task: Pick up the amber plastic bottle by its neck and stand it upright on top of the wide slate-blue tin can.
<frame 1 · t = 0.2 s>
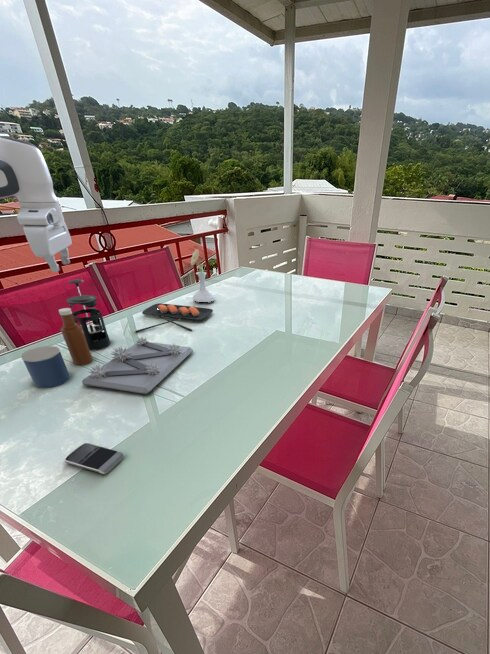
hand: (61, 267, 97), 29 cm above the table, tool pointing down, fingers open, 8 cm apart
bottle: (83, 361, 110), on the table
cell phone: (95, 461, 73), on the table
sushi plate: (170, 321, 142), on the table
flower in vase: (204, 302, 165), on the table
decorative plate: (143, 368, 108), on the table
tin can: (52, 379, 100), on the table
french press: (97, 344, 121), on the table
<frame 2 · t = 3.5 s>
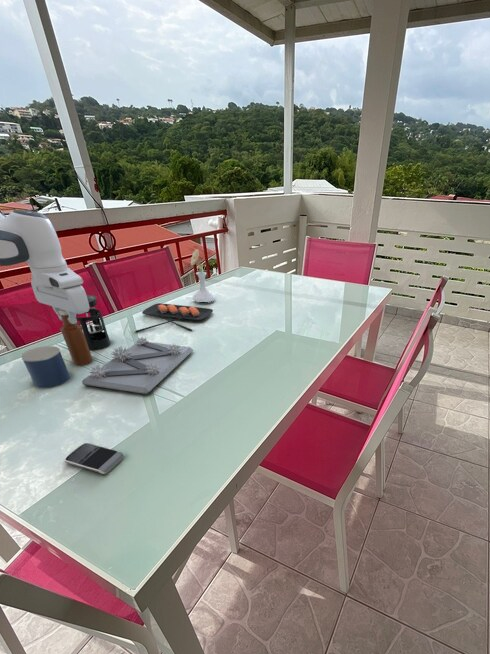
hand: (68, 321, 102), 14 cm above the table, tool pointing down, fingers closed on bottle, 3 cm apart
bottle: (83, 361, 110), on the table, touching gripper
everything else where it was.
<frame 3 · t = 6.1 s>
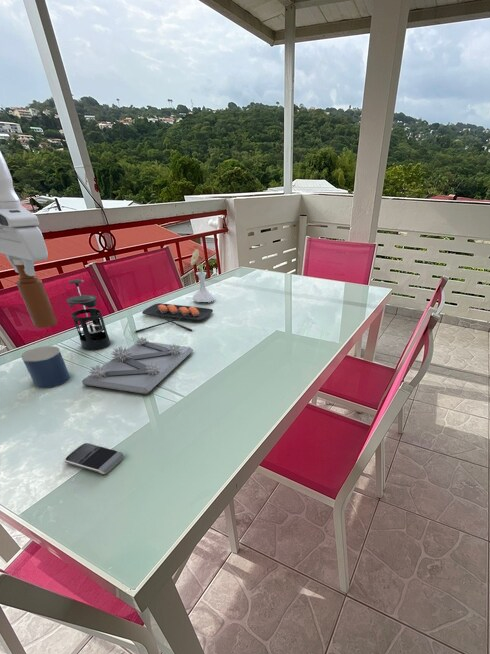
hand: (26, 274, 87), 30 cm above the table, tool pointing down, fingers closed on bottle, 3 cm apart
bottle: (45, 324, 95), point 16 cm above the table, touching gripper
everything else where it was.
when the fingers open (23 cm above the table, at t = 8.9 s): bottle stays where it is, resting on tin can.
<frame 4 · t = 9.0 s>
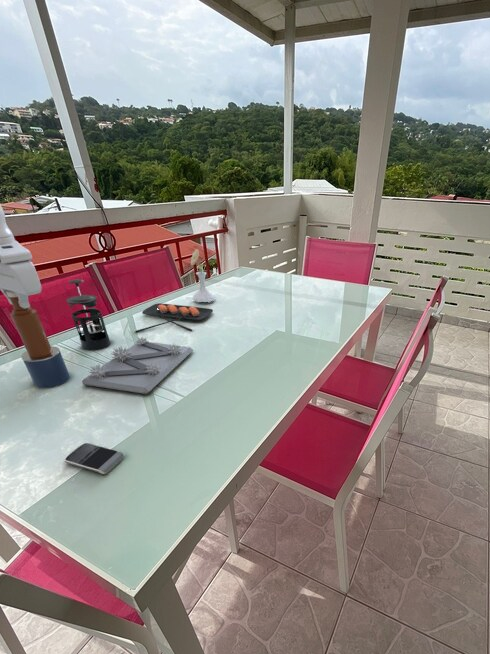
hand: (20, 305, 87), 23 cm above the table, tool pointing down, fingers open, 3 cm apart
bottle: (40, 353, 95), point 9 cm above the table, touching tin can
tin can: (52, 379, 100), on the table, touching bottle
everything else where it was.
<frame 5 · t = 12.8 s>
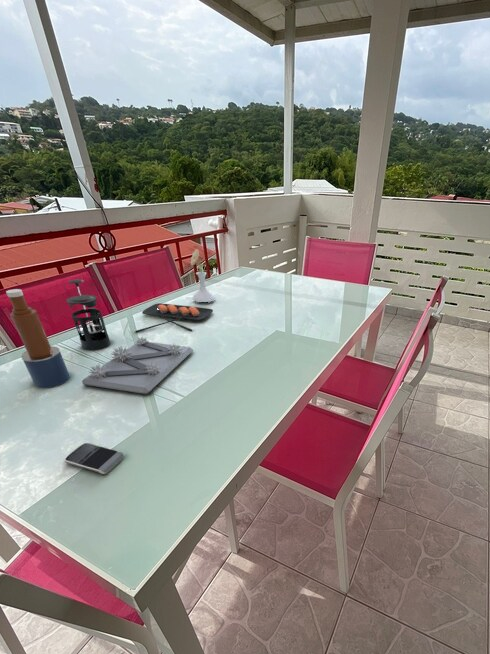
nothing on the table moved.
at the end: bottle 0.0 cm off-centre on the tin can, point 9.0 cm above the tin can's base; bottle tilted 0°; the gripper is holding nothing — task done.
